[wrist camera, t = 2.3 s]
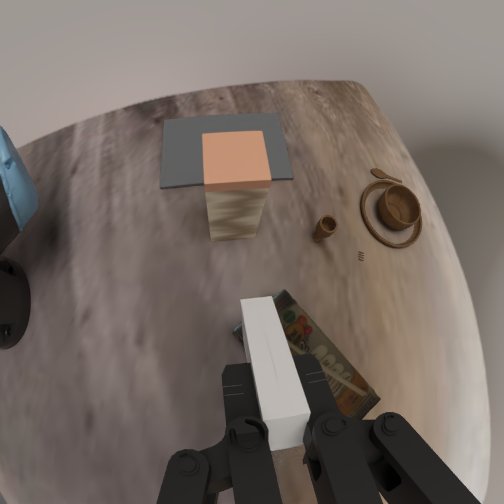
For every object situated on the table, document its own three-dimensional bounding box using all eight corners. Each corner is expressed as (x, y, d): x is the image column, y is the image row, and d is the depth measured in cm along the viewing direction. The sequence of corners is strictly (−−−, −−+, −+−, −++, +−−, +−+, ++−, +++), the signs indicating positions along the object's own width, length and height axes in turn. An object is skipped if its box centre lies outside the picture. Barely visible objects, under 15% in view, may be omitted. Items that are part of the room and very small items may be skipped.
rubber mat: (161, 189, 40) (160, 187, 40) (164, 122, 45) (164, 120, 44) (292, 179, 43) (293, 177, 42) (277, 115, 47) (278, 113, 46)
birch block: (211, 241, 39) (204, 184, 24) (208, 202, 40) (202, 133, 26) (254, 237, 39) (271, 179, 25) (249, 199, 41) (262, 130, 27)
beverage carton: (276, 293, 38) (287, 283, 31) (363, 392, 34) (387, 400, 28) (230, 332, 36) (231, 330, 29) (322, 432, 32) (340, 447, 26)
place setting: (418, 274, 41) (440, 264, 35) (304, 250, 40) (317, 235, 35) (412, 183, 46) (429, 167, 41) (313, 153, 46) (323, 131, 40)
